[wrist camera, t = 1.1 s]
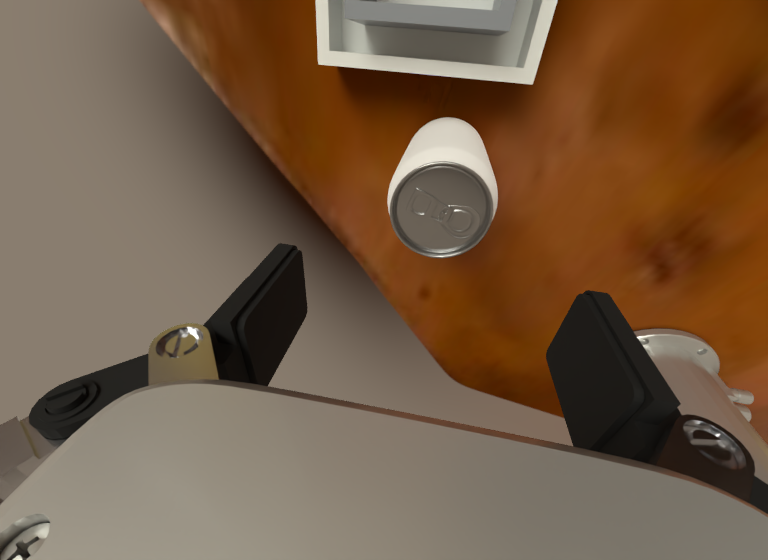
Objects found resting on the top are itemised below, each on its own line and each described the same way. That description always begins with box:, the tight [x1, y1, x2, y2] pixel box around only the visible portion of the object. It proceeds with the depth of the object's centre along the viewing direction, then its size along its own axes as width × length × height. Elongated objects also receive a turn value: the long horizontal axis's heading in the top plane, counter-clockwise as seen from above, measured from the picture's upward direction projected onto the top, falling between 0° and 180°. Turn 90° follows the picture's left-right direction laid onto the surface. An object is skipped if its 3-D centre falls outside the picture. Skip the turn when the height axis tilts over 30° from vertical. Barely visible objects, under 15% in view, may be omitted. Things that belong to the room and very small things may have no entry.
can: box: [388, 117, 498, 258], centre depth 22 cm, size 6×6×12 cm
